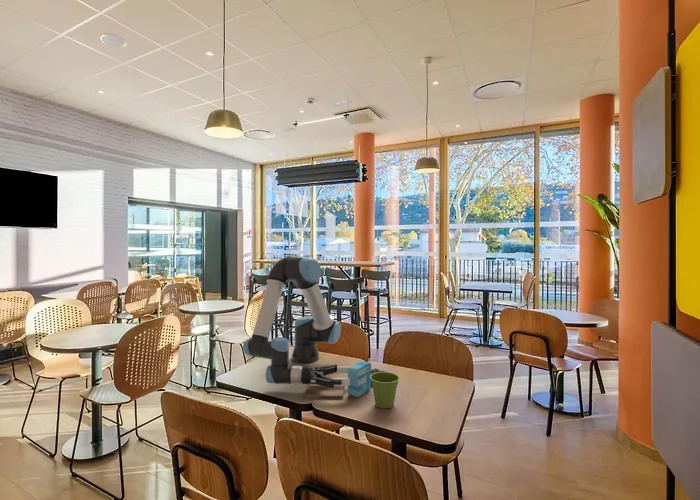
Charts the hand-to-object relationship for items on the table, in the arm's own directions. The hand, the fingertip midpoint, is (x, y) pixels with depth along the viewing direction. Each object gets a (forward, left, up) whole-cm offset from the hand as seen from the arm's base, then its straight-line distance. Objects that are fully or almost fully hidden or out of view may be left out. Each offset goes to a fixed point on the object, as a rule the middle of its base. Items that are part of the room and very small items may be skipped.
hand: (350, 375), depth 154 cm
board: (-1, -11, -7) cm, 13 cm away
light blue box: (0, +4, -7) cm, 8 cm away
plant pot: (+12, +14, -7) cm, 20 cm away
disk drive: (-15, +11, -8) cm, 19 cm away
